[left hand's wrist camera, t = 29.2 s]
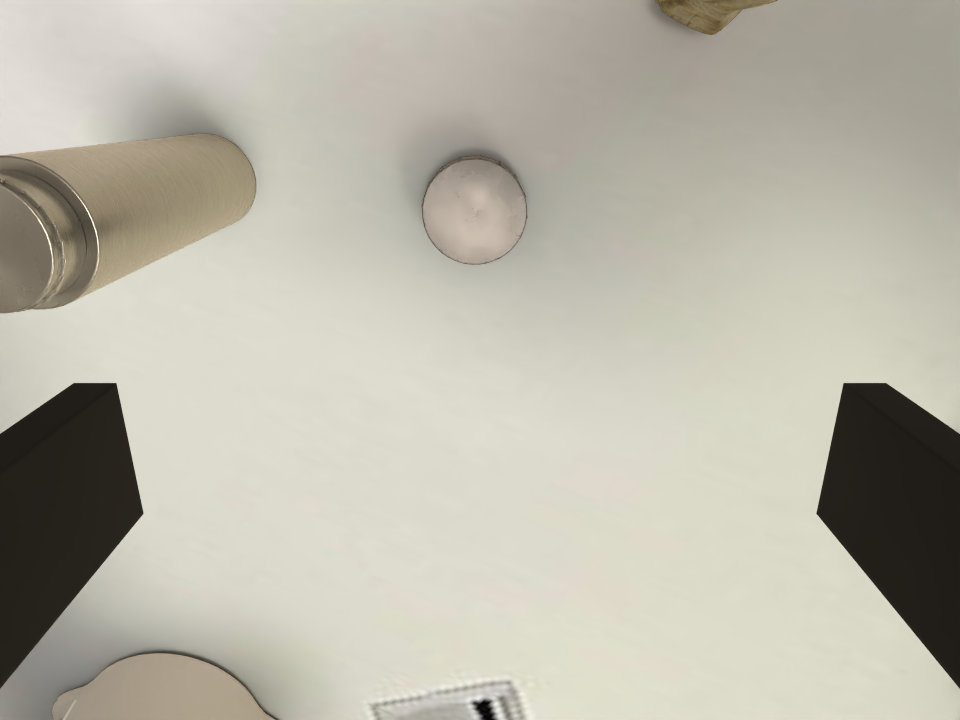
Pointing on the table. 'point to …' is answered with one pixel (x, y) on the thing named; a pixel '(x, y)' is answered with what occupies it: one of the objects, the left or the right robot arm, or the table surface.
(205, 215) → the jar
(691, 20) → the sculpture
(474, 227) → the lid
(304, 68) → the table surface
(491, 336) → the table surface
